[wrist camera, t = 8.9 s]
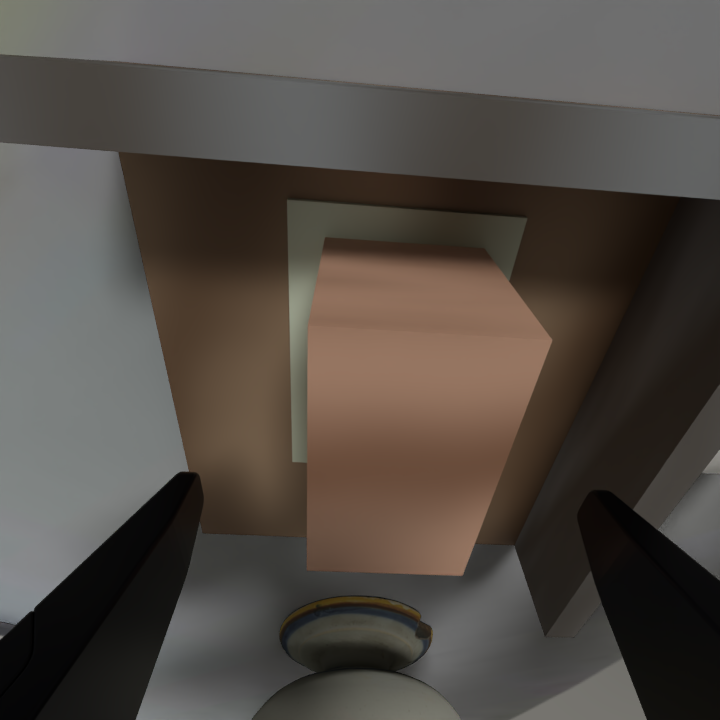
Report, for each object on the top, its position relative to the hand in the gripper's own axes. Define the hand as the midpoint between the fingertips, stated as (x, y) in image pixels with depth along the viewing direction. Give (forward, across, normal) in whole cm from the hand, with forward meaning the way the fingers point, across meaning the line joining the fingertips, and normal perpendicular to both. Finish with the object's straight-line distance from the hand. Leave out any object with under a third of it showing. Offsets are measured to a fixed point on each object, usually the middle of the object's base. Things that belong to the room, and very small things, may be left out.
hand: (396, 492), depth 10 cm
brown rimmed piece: (+6, -1, +1) cm, 7 cm away
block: (+5, 0, 0) cm, 5 cm away
